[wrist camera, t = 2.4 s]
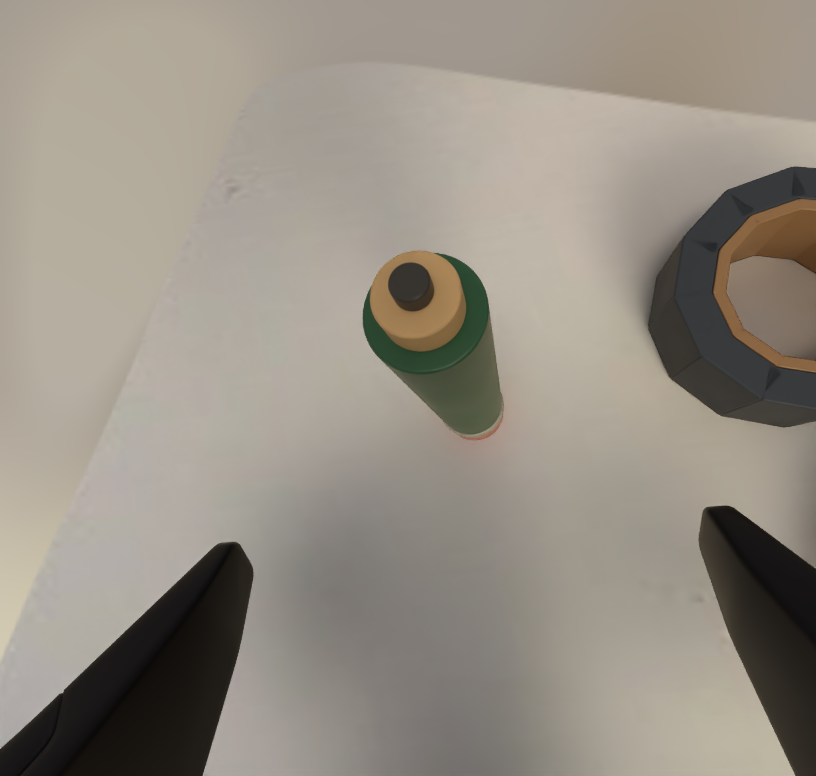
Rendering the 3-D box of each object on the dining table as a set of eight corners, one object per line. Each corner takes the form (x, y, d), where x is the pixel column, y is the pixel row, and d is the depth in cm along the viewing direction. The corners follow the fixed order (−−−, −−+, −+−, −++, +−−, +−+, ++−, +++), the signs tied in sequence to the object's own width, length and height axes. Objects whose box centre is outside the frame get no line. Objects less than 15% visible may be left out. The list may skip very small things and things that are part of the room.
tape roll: (937, 383, 18) (1033, 359, 15) (702, 452, 19) (741, 444, 16) (825, 190, 20) (887, 131, 17) (619, 263, 21) (638, 220, 18)
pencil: (512, 430, 21) (509, 325, 8) (455, 448, 21) (354, 378, 8) (493, 375, 22) (459, 186, 8) (438, 393, 22) (318, 241, 8)
